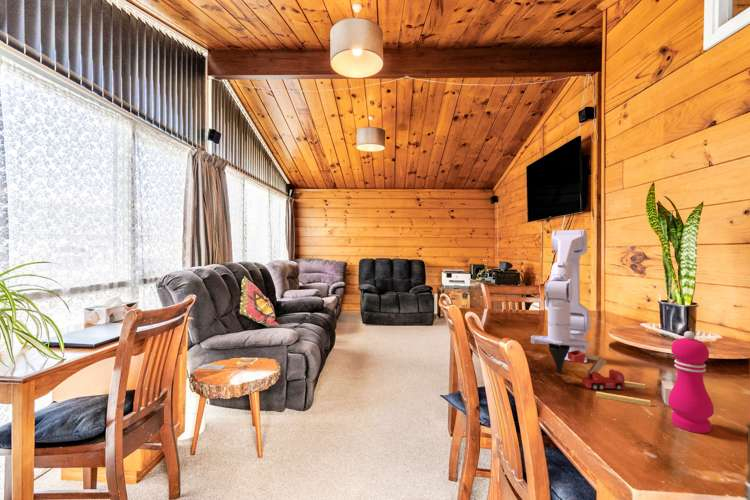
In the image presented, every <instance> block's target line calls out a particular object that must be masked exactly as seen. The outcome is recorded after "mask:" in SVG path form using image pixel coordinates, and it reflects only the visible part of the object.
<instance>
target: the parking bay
mask: <svg viewBox="0 0 750 500" xmlns="http://www.w3.org/2000/svg"><path fill="white" fill-rule="evenodd" d="M624 383H625V387H630V388H637V389H642V390H646V384H645V383H639V382H635V381H634V382H632V381H626V380H625V382H624ZM674 385H675V384H673V381H669V380H668V381H667V380H662V379H661V398H662V400H663V403H664V404H665V406H669V403H668V399H669V394H670V392H671V390H672V388H673V387H674ZM595 394H596V396H595V397H596V398H597V397H598V398H602V399H608V400H614V401H620V402H624V403H630V404H636V405H640V406H642V405H643V406H646V407H647V406H648V407H651V406H652V403H651V400H650V399H643V398H637V397H631V396H625V395H619V394H616V393H615V394H614V393H607V392H603V391H596V393H595ZM669 407H670V406H669Z"/></svg>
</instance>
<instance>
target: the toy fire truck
mask: <svg viewBox="0 0 750 500" xmlns="http://www.w3.org/2000/svg"><path fill="white" fill-rule="evenodd" d="M585 358H587V360H591V361H592V360H593V361H594V362H593V363H592V365H591V367H590V368H589V369H588V370H587V376H581V384H582V385H583V386H584V387H585V388H587V389H591V388H592V390H598V389H599V390H602V391H603V390H604V389H616V390H618V391H619V390H622V389H625V387H626V386H625V383H624V382H625V381H626V380H625V376H624V373H622V372H621V371H619V370H616V369H613V368H611V369H609V370H608V376H604V375H602V374H600V373H599V371H600V370H601V369H602V368H603V367H604V366H605V365H606V364H607V363H608V361H607V360H606V359H605V358H604V357H601V356H600V355H599V356H598V355H593V354H591V353H587V352H586V353H582V352H580V351H579V350H576V351H572V352H568V359H570V360H571V361H570V362H572V363H579V364H581V363H584V360H585Z"/></svg>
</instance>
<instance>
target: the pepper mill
mask: <svg viewBox="0 0 750 500" xmlns="http://www.w3.org/2000/svg"><path fill="white" fill-rule="evenodd" d="M683 336H684V337H682V338H678V339H676V340H674V341H673V342H672V345H671V348H670V349H671V350H670V351H671V354H672V355H673V356H674V357H675V359H674V367H675V368H676V373H677V376H676V380H675V382H674V384H673V385H674V387H673V388H672V390H671V392H670V394H669V399H668V403H669V407H670V409H671V410H672V411H673V412H671V416H670V417H671V424H673V425H674V426H675V427H677V428H679V429H681V430H683V431H684V430H685V431H687V432H691V433H697V434H707V433H710V432H711V430H712V428H711V427H712V425H711V421H710V418H711V417H712V416H713V415H714V413H715V411H714V404H713V401H712V399H711V397H710V395H709V393H708V390H707V389H706V386H705V384H704V373H705V372H706V371H707V369H706V367H707V364H706V363H705V362H706V361H708V359H709V357H710V351H709V348H708V346H707V345H706V344H705V343H704V342H702V341H701V340H699V339H695V338H696V334H695V333H694V332H693V331H690V330H687V331H684V333H683Z"/></svg>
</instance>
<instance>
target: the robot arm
mask: <svg viewBox="0 0 750 500" xmlns="http://www.w3.org/2000/svg"><path fill="white" fill-rule="evenodd" d="M551 246H552V249H553V250H554V252H555V253H556V255H557V256H556V257H557V259H556V262H554V263H552V266H551V271H550V274H549V275H550V276H549V279H548V282H545V285H544V296H545V306H546V307H547V335H534V334H533V335H531V336H530V344H540V345H546V346H547V345H548V351H549V352H550V354H551V356H552V359H553V362H554V364H555V368H556V373H560V374H561V373H562V372H563V368H564V367H563V366H564V363H565V361H570V362H572V361H571V360H570V359H568V352H572V351H576V350H579V351H580V352H582V353H586V354H587V351H589V350H590V341H586V335H587V334H588V333H589V332H591V315H590V309H589V308H588V307H586V306H585V305H583V304H582V303H581V293H580V291H581V289H580V288H581V287H580V286H581V285H580V284H581V281H580V280H581V279H580V276H581V275H580V259H581V257H582V256H583V255H585V254H587V252H588V232H587V230H586V229H585V228H584V229H583V228H582V229H568V230H567V229H566V230H562V229H561V230H556V229H555V230H553V231H552V233H551ZM586 333H587V334H586ZM584 363H586V364H587V363H588V358H585V360H584Z"/></svg>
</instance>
